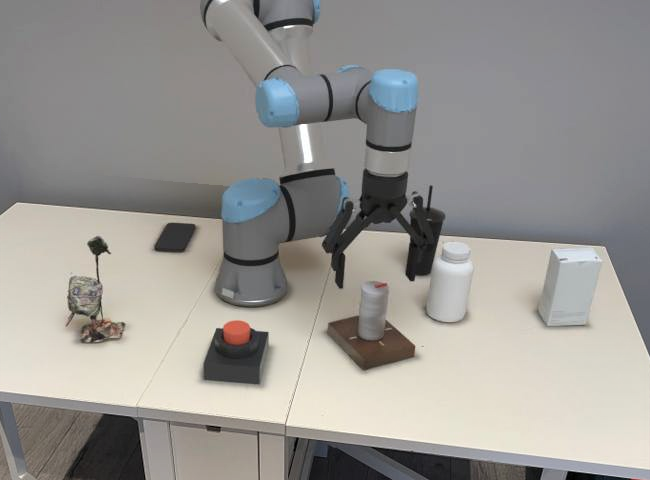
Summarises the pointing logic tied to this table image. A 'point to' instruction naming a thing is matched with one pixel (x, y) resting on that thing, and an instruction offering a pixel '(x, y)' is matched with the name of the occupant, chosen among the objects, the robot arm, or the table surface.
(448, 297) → the pill bottle
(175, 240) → the phone
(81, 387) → the table surface
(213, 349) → the button base
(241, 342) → the red push button
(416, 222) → the drinking cup
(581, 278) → the cosmetic box
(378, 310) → the dial
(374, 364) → the panel
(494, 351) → the table surface
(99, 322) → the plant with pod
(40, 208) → the table surface
